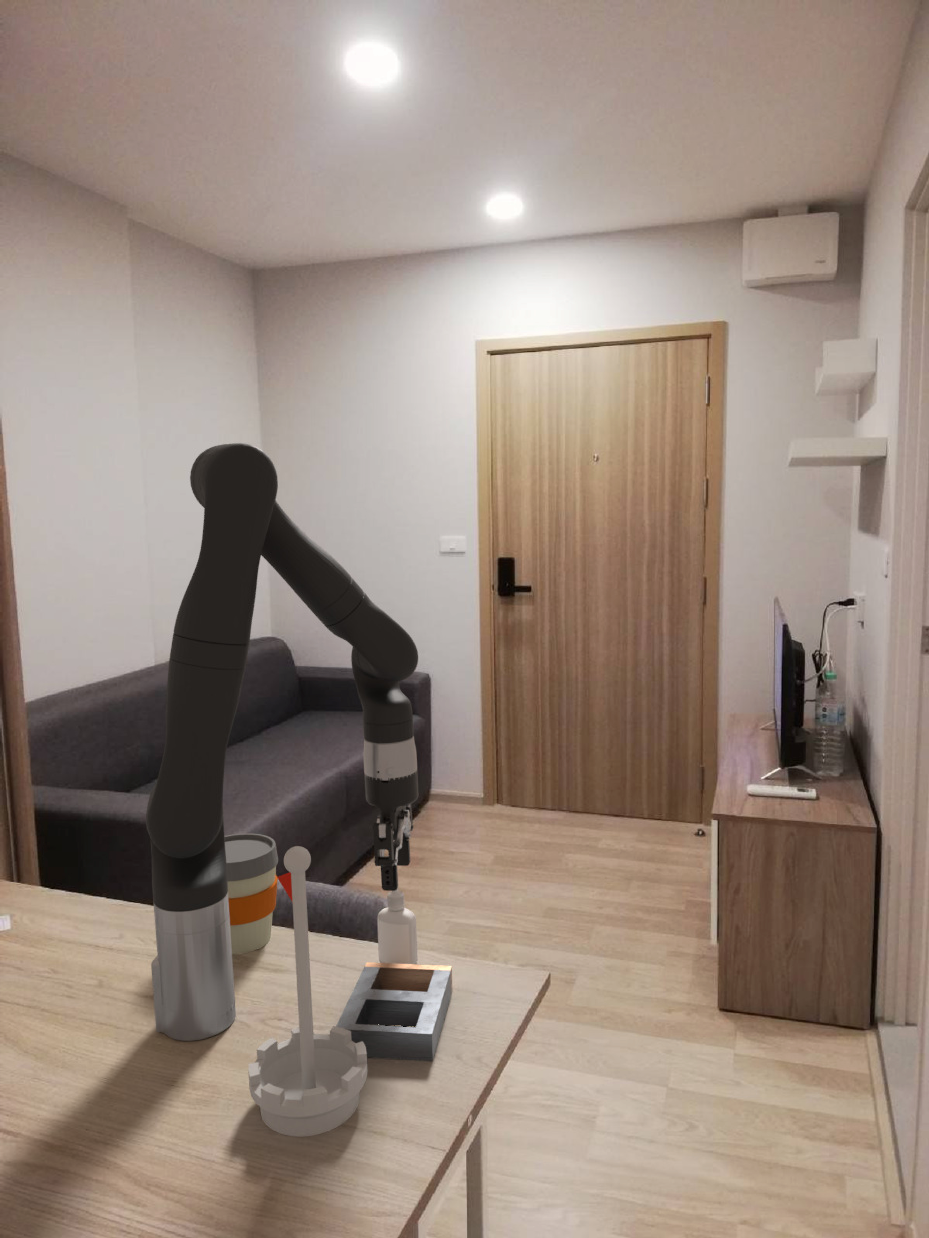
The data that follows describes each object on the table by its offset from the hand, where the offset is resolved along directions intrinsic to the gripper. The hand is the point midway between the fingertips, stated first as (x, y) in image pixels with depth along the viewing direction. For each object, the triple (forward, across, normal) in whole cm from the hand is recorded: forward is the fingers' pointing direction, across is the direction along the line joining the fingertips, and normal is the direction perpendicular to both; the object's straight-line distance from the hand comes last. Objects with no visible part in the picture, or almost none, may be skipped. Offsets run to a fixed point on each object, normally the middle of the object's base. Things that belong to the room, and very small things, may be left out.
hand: (396, 876), depth 129 cm
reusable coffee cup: (+13, -5, -26) cm, 30 cm away
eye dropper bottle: (+14, 0, 0) cm, 14 cm away
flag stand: (+13, +31, -4) cm, 34 cm away
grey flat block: (+13, +14, +3) cm, 20 cm away
